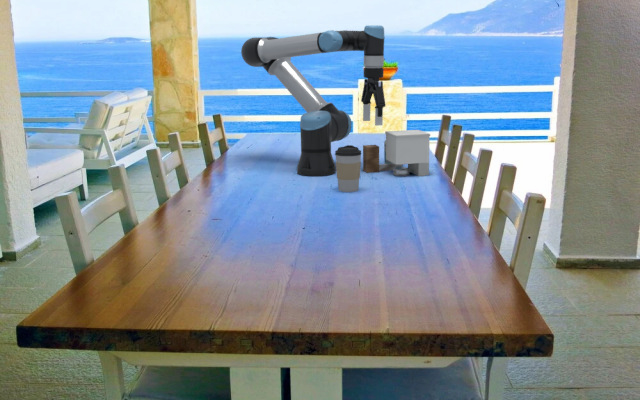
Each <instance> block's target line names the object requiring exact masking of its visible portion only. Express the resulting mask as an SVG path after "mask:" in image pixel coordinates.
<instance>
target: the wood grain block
mask: <svg viewBox="0 0 640 400" xmlns="http://www.w3.org/2000/svg"><path fill="white" fill-rule="evenodd" d="M397 167H401V164H397V165H396V164H394V163H393V164H384V163H380V146H378V145H376V144H364V145H362V171H363V172H364V173H366V174H369V173H370V174H371V173H373V174H374V173H380V172H383V171H394V168H397Z"/></svg>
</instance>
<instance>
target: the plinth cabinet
mask: <svg viewBox="0 0 640 400" xmlns="http://www.w3.org/2000/svg"><path fill="white" fill-rule="evenodd" d="M430 137H431V133H429V132H426V131H422V130H421V129H409V130H408V129H407V130H392V131H391V130H389V131H388V130H387V131H386V130H385V140H386V160H388V161H390V162H392V163H394V164H396V165H397V164H403V165H407V168H409V169H410V173H412V174H414V175H415V176H418V177H426V176H425V175H429V176H430V174H429V173H430V139H431V138H430Z"/></svg>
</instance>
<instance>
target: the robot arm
mask: <svg viewBox="0 0 640 400" xmlns="http://www.w3.org/2000/svg"><path fill="white" fill-rule="evenodd" d="M240 50H241V51H240V54H241V57H242V59H243V61H244V62H245V63H246V64H247V65H248V66H250V67H254V68H263V69H264V70H265V71H266V72H267V74H269V75H270V76H275V77H276V78H277V79H278V80H279V82H280V83H281V84H282V85H283V86H284V87H285V89H287V91H288V92H289V93H290V95H291V96H292V97H293V98H294V99H295V100H296V101H297V103H299V105H300V106H301V108H303V110H305V113H303V114H301V116H300V121H299V122H300V124H299V127H300V149H301V150H300V157H299V159H298V163H297V165H296V174H298V175H300V176H309V177H319V176H320V177H323V176H331V175H334V174H337V171H336V162H335V161H334V157H333V155H332V143H333V142H339V141H341V140H343V139H345V138H347V137H348V136H349V135H350V133H351V130H352V125H353V124H352V122H353V121H352V119H351V116H350V114H348V112H346V111H344V110H339V109H338V108H337V107H336V105H335V104H334V103H332V102H327V101H326V100H325V99H324V98H323V96H322V95H321V94H320V93H319V92H318V91H317V89H315V87H314V86H313V85H312V84H311V83H310V81H308V79H306V77H305V76H304V75H303V74H302V72H301V71H300V70H299V69H298V68H297V67H296V66H295V65H294V64H293V62H292V61H291V60H292V58H295V57H302V56H311V55H317V54H318V55H319V54H326V53H328V54H329V53H334V52H337V53H338V52H363V66H364V68H363V78H364V79H363V80H364V81H363V88H362V89H363V90H362V95H361V99H360V102H361V103H362V105H363V107H362V111H363V112H362V121H363V122H369V121H370V122H371V104H372V102H371V100H372V98H374V99H373V100H374V102H375V107H374V109H375V111H374V112H375V113H374V115H375V116H374V126H383V123H384V121H383V120H384V119H383V118H384V117H383V115H384V114H383V113H384V108H386V99H385V92H384V84H383V83H384V82H383V81H382V80H380V79H382V78H384V68H383V67H384V64H385V63H384V61H385V60H386V59H385V58H384V57H385V56H384V55H385V54H384V53H385V28H384V26H383V25H378V24H377V25H375V24H374V25H365V26H364V29H363V30H348V29H345V30H333V29H332V30H331V29H330V30H326V31H323V32H315V33H310V34H309V33H308V34H302V35H296V36H295V35H294V36H287V37H282V38H281V37H280V38H279V37H275V36H268V37H251V38H248V39H247V40H245V41H244V43H243V44H242V46H241V49H240ZM372 96H373V97H372Z"/></svg>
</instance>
